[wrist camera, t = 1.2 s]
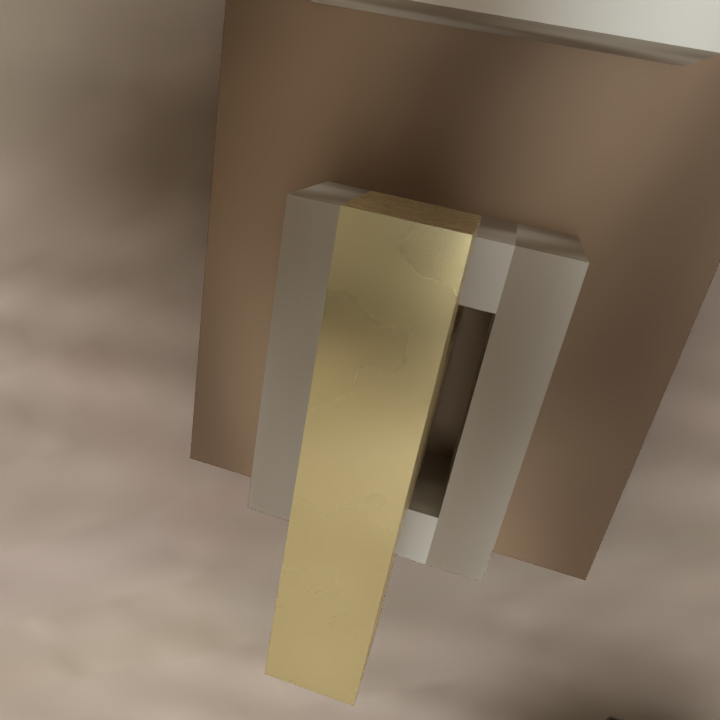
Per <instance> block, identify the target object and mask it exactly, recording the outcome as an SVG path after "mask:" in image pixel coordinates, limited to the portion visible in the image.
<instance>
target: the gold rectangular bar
mask: <svg viewBox="0 0 720 720" xmlns="http://www.w3.org/2000/svg"><path fill="white" fill-rule="evenodd" d="M481 217H482V215H478V214H473V213H469V212H464V211H460V210H455V209H451V208H446V207H442V206H437V205H433V204H428V203H424V202H419V201H415V200H410V199H406V198H401V197H397V196H392V195H388V194H383V193H379V192H374V191H370V192H368V193H366V194H363V195H361V196H359V197H357V198H355V199H353V200H350V201H348V202H346V203H344V204H342V205H341V206H340V212H339V218H338V224H337V230H336V236H335V242H334V249H333V255H332V261H331V267H330V273H329V279H328V286H327V292H326V298H325V304H324V310H323V316H322V323H321V329H320V335H319V341H318V347H317V353H316V360H315V366H314V372H313V378H312V384H311V390H310V396H309V403H308V409H307V415H306V421H305V427H304V433H303V440H302V446H301V452H300V458H299V464H298V470H297V477H296V483H295V489H294V495H293V501H292V507H291V513H290V520H289V526H288V532H287V538H286V544H285V550H284V557H283V563H282V569H281V575H280V581H279V587H278V594H277V600H276V606H275V612H274V618H273V624H272V631H271V637H270V643H269V649H268V655H267V661H266V667H265V674H267V675H270V676H272V677H275V678H278V679H281V680H283V681H286V682H289V683H292V684H294V685H297V686H300V687H303V688H305V689H308V690H311V691H314V692H316V693H319V694H322V695H325V696H328V697H330V698H333V699H336V700H339V701H341V702H344V703H347V704H350V705H352V706H354V703H355V700H356V697H357V693H358V690H359V686H360V683H361V680H362V676H363V673H364V670H365V666H366V663H367V660H368V656H369V653H370V649H371V646H372V643H373V639H374V636H375V632H376V628H377V625H378V621H379V617H380V613H381V609H382V605H383V601H384V597H385V593H386V589H387V585H388V581H389V578H390V574H391V570H392V566H393V562H394V558H395V554H396V550H397V546H398V542H399V538H400V534H401V531H402V528H403V525H404V521H405V518H406V515H407V512H408V508H409V505H410V502H411V499H412V495H413V492H414V489H415V486H416V482H417V479H418V476H419V472H420V469H421V466H422V463H423V459H424V456H425V453H426V450H427V446H428V443H429V440H430V437H431V433H432V430H433V426H434V422H435V419H436V415H437V411H438V407H439V403H440V399H441V395H442V392H443V388H444V384H445V380H446V376H447V372H448V368H449V365H450V361H451V357H452V353H453V349H454V345H455V341H456V338H457V334H458V330H459V326H460V322H461V318H462V314H463V311H464V307H465V306H462V305H459V303H460V299H461V295H462V292H463V288H464V284H465V280H466V276H467V272H468V268H469V264H470V260H471V256H472V252H473V248H474V244H475V241H476V237H477V233H478V229H479V225H480V221H481Z"/></svg>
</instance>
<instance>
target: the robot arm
mask: <svg viewBox="0 0 720 720" xmlns="http://www.w3.org/2000/svg"><path fill="white" fill-rule="evenodd" d="M604 720H622V719H619V718H616V717H613V716H608V717H606V718H605V719H604Z"/></svg>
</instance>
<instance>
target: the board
mask: <svg viewBox="0 0 720 720" xmlns="http://www.w3.org/2000/svg"><path fill="white" fill-rule="evenodd" d="M370 191H374V192H379V193H383V194H388V195H392V196H397V197H401V198H406V199H410V200H415V201H419V202H424V203H428V204H433V205H437V206H442V207H446V208H451V209H455V210H460V211H464V212H469V213H473V214H478V215H482V217H481V221H480V225H479V229H478V233H477V237H476V241H475V244H474V248H473V252H472V256H471V260H470V264H469V268H468V272H467V276H466V280H465V284H464V288H463V292H462V295H461V299H460V303H459V305H462V306H465V307H464V311H463V314H462V318H461V322H460V326H459V330H458V334H457V338H456V341H455V345H454V349H453V353H452V357H451V361H450V365H449V368H448V372H447V376H446V380H445V384H444V388H443V392H442V395H441V399H440V403H439V407H438V411H437V415H436V419H435V422H434V426H433V430H432V433H431V437H430V440H429V443H428V446H427V450H426V453H425V456H424V459H423V463H422V466H421V469H420V472H419V476H418V479H417V482H416V486H415V489H414V492H413V495H412V499H411V502H410V505H409V508H408V512H407V515H406V518H405V521H404V525H403V528H402V531H401V534H400V538H399V542H398V546H397V550H396V554H395V555H397V556H400V557H404V558H407V559H410V560H413V561H416V562H419V563H422V564H426V565H429V566H432V567H435V568H438V569H441V570H444V571H448V572H451V573H454V574H457V575H460V576H463V577H466V578H470V579H473V580H476V581H479V582H482V581H483V578H484V575H485V573H486V570H487V567H488V564H489V561H490V558H491V555H492V552H496V553H499V554H502V555H505V556H509V557H512V558H515V559H518V560H521V561H525V562H528V563H531V564H534V565H538V566H541V567H544V568H547V569H551V570H554V571H557V572H560V573H564V574H567V575H570V576H573V577H576V578H580V579H583V580H585V579H586V577H587V575H588V572H589V570H590V568H591V565H592V563H593V561H594V558H595V556H596V553H597V551H598V549H599V546H600V544H601V542H602V539H603V537H604V534H605V532H606V530H607V527H608V525H609V523H610V520H611V518H612V516H613V513H614V511H615V508H616V506H617V504H618V501H619V499H620V497H621V494H622V492H623V489H624V487H625V485H626V482H627V480H628V478H629V475H630V473H631V471H632V468H633V466H634V463H635V461H636V459H637V456H638V454H639V452H640V449H641V447H642V444H643V442H644V440H645V437H646V435H647V433H648V430H649V428H650V426H651V423H652V421H653V418H654V416H655V414H656V411H657V409H658V407H659V404H660V402H661V399H662V397H663V395H664V392H665V390H666V388H667V385H668V383H669V381H670V378H671V376H672V373H673V371H674V369H675V366H676V364H677V362H678V359H679V357H680V354H681V352H682V350H683V347H684V345H685V343H686V340H687V338H688V336H689V333H690V331H691V328H692V326H693V324H694V321H695V319H696V317H697V314H698V312H699V309H700V307H701V305H702V302H703V300H704V298H705V295H706V293H707V291H708V288H709V286H710V283H711V281H712V279H713V276H714V274H715V272H716V269H717V267H718V264H719V262H720V0H226V7H225V20H224V33H223V45H222V58H221V71H220V84H219V97H218V109H217V122H216V135H215V148H214V160H213V173H212V186H211V199H210V212H209V224H208V237H207V250H206V263H205V276H204V288H203V301H202V314H201V327H200V340H199V352H198V365H197V378H196V391H195V404H194V416H193V429H192V442H191V455H190V458H191V459H195V460H198V461H201V462H204V463H208V464H211V465H214V466H217V467H220V468H224V469H227V470H230V471H233V472H237V473H240V474H243V475H246V476H250V477H251V484H250V491H249V499H248V507H247V508H249V509H253V510H256V511H259V512H262V513H265V514H268V515H271V516H275V517H278V518H281V519H284V520H287V521H289V520H290V513H291V507H292V501H293V495H294V489H295V483H296V477H297V470H298V464H299V458H300V452H301V446H302V440H303V433H304V427H305V421H306V415H307V409H308V403H309V396H310V390H311V384H312V378H313V372H314V366H315V360H316V353H317V347H318V341H319V335H320V329H321V323H322V316H323V310H324V304H325V298H326V292H327V286H328V279H329V273H330V267H331V261H332V255H333V249H334V242H335V236H336V230H337V224H338V218H339V212H340V206H341V205H342V204H344V203H346V202H348V201H350V200H353V199H355V198H357V197H359V196H361V195H363V194H366V193H368V192H370Z"/></svg>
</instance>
